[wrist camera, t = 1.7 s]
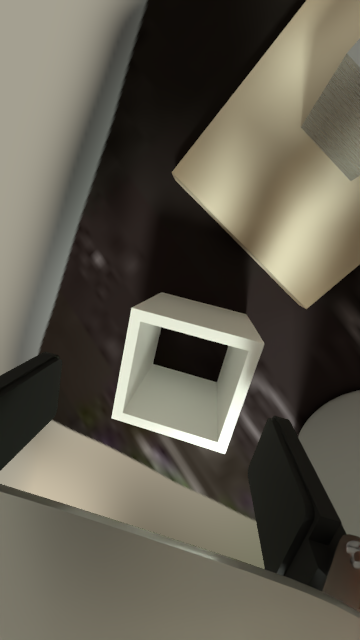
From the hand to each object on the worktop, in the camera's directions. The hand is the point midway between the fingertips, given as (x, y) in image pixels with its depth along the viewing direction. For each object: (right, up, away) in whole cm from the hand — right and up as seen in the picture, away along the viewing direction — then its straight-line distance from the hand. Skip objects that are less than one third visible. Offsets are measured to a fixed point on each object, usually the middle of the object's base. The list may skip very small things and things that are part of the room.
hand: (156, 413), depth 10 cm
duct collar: (+2, +1, +10) cm, 10 cm away
